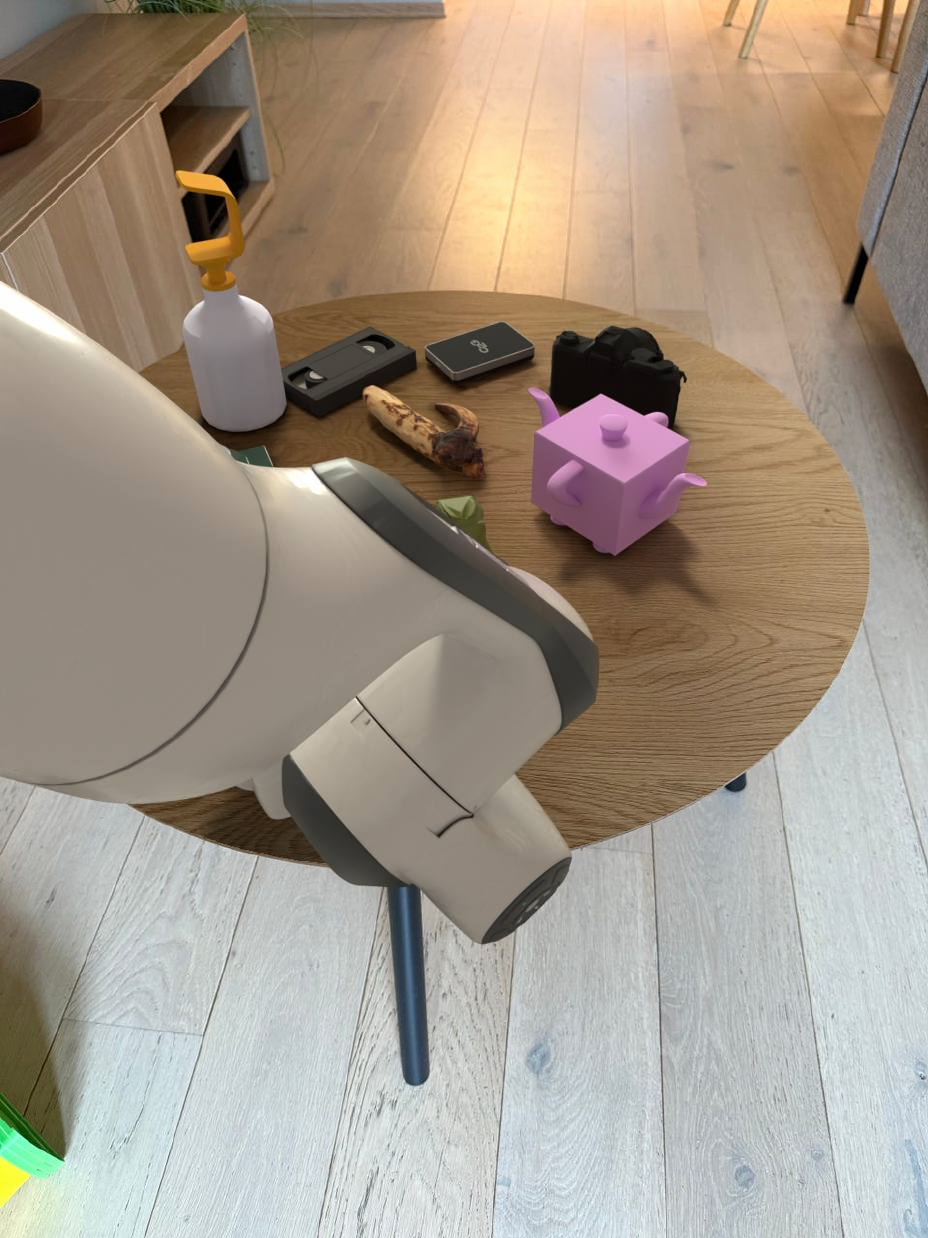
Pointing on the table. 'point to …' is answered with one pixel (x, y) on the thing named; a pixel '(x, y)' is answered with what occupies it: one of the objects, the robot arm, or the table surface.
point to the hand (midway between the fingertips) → (275, 607)
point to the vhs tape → (345, 370)
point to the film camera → (615, 371)
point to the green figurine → (465, 515)
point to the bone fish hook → (431, 432)
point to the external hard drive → (479, 352)
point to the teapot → (608, 470)
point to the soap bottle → (230, 331)
